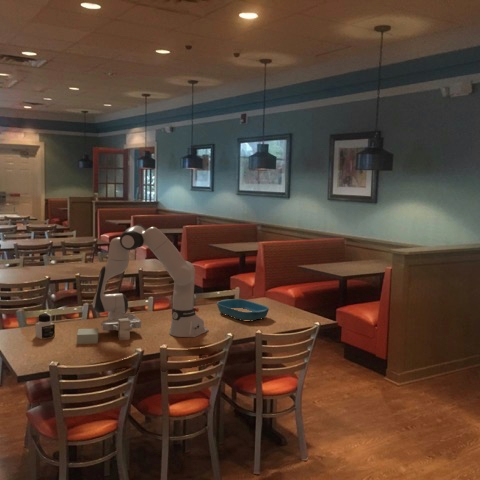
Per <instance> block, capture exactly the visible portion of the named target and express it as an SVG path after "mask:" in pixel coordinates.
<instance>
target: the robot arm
mask: <svg viewBox="0 0 480 480" xmlns="http://www.w3.org/2000/svg"><path fill="white" fill-rule="evenodd" d="M143 245H144V246H146V247H147V248H148V249H149V250H150V251H151V252H152V253H153V255H154V256H155V258H157V259H158V260H159V262H160V263H161V265H163V267H164V269H165V270H166V272H167V274H169V276H170V277H171V278H172V280H173V282H174V283H173V290H172V291H173V292H172V293H173V294H172V309H171V314H172V315H171V323H170V328H169V335H170V336H173V337H177V338H196V337H199V336H201V335H202V334H205V333H207V332H209V328H208V327H206V326H205V322H204V320H203V318H201V317H200V316H198V315H197V313H196V312H198V313H199V311H200V308H199V307H194V295H195V294H194V293H195V279H196V278H195V276H196V269H195V266H194V264H193V263H192V262H190V261H187V260H185V259H184V257H183V255H182V254H181V252H180V251H179V250H178V249H177V247H176V246H175V245H174V244H173V243H172V241H171V240H170V239H169V238H168V237H167V236H166V234H164V233H163V232H162V231H161V230H160V229H158V228H157V227H156V226H151V227H149V228H146V227H145V226H143V224H135V225H133V226H130V227H128V228H126V230H125V231H123V232H122V233H121V235H120V236H118V237H114V238H112V239H111V240H110V242H109V247H108V253H107V254H108V256H107V262H106V264H105V265H104V266H102V267H101V269H100V272H99V275H98V280H97V284H96V289H95V293H94V297H93V301H92V307H93V308H92V309H93V310H94V311H95V312H97V313H99V314H101V313H106V312H108V313H107V318H108V320H103V321H102V322H100V326H102V330H103V331H104V332H105V331H117V332H118V330H119V326H118V319H124V318H128V319H129V320H130V331H131V330H133V329H141V328H142V320H141V319H140V318H139V317H137V316H136V314H129V313H128V314H127V311H128V310H129V301H128V298H127V296H126V295H125V294H124V293H119V292H118V293H105V290H106V286H107V282H108V281H109V279H112V278H113V277H116V276H118V275H121V274H122V273H124V272H125V271H126V270H127V269H128V267H129V262H130V251H133V250H136V249H138V248H141V247H143Z"/></svg>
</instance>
